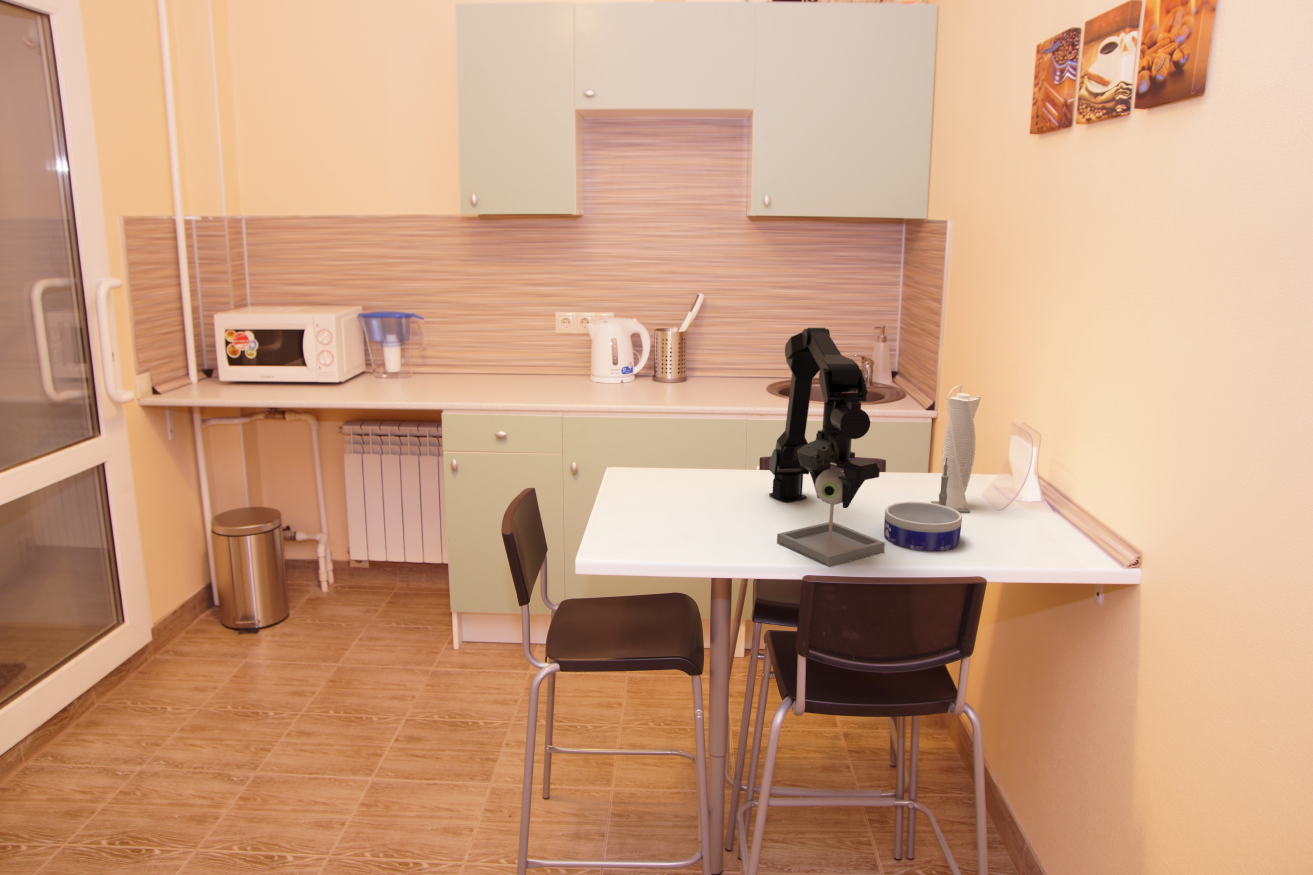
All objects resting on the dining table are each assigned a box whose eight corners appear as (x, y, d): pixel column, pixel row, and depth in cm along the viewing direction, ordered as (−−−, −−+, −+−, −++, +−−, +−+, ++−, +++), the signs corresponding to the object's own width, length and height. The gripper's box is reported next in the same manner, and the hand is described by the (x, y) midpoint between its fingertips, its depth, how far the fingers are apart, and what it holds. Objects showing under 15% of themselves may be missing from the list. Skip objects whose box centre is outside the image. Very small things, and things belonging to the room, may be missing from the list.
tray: (831, 530, 193) (831, 521, 193) (884, 552, 181) (884, 542, 181) (776, 542, 185) (777, 533, 185) (828, 566, 173) (829, 556, 173)
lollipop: (808, 544, 181) (812, 471, 177) (816, 532, 187) (820, 462, 184) (844, 549, 178) (849, 475, 175) (850, 537, 185) (855, 466, 181)
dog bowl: (868, 532, 193) (870, 505, 192) (926, 524, 199) (928, 497, 197) (915, 556, 179) (917, 527, 178) (975, 547, 185) (978, 518, 184)
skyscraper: (929, 500, 214) (939, 383, 208) (964, 501, 214) (975, 384, 208) (939, 512, 206) (950, 390, 200) (975, 513, 206) (987, 391, 199)
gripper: (774, 421, 181) (770, 496, 184) (841, 442, 165) (836, 523, 169) (816, 415, 187) (811, 488, 190) (884, 434, 171) (878, 513, 175)
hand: (832, 502), depth 181 cm, fingers closed on lollipop, 7 cm apart
